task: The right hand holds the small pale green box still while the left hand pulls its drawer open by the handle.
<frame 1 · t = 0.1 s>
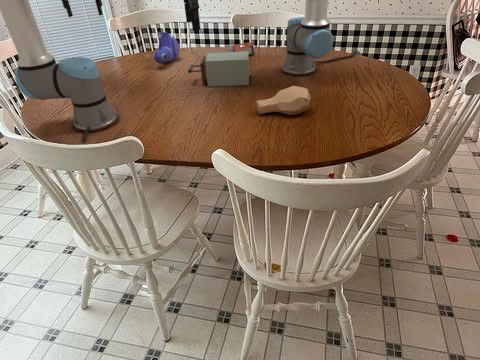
left hand: (86, 15, 157), 28 cm above the table, tool pointing down, fingers open, 13 cm apart
right hand: (193, 25, 131), 28 cm above the table, tool pointing down, fingers open, 13 cm apart
drawer: (214, 69, 158), point 6 cm above the table, slide at 1.2 cm
toy: (167, 63, 186), on the table
squash: (283, 112, 132), on the table
pale green box: (229, 81, 161), on the table
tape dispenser: (241, 57, 187), on the table
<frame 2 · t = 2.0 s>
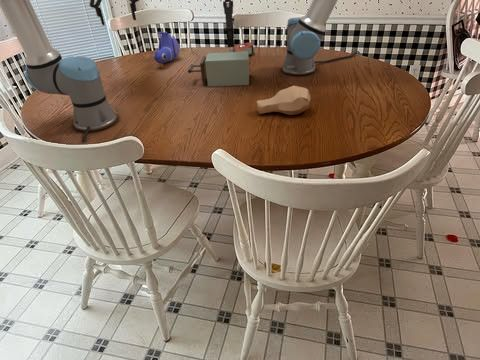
left hand: (119, 22, 155), 25 cm above the table, tool pointing down, fingers open, 13 cm apart
right hand: (231, 42, 148), 18 cm above the table, tool pointing down, fingers open, 13 cm apart
nothing on the table moved.
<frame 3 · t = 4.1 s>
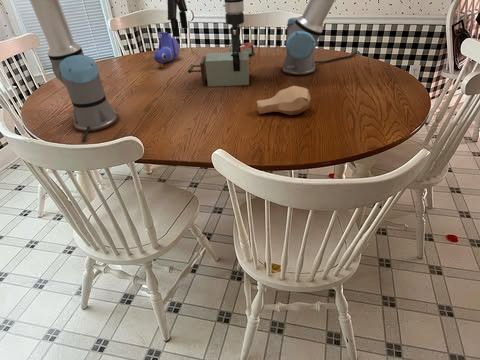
left hand: (180, 32, 150), 22 cm above the table, tool pointing down, fingers open, 13 cm apart
right hand: (237, 66, 157), 7 cm above the table, tool pointing down, fingers closed on pale green box, 11 cm apart
pale green box: (229, 81, 161), on the table, touching right hand
everything else where it was.
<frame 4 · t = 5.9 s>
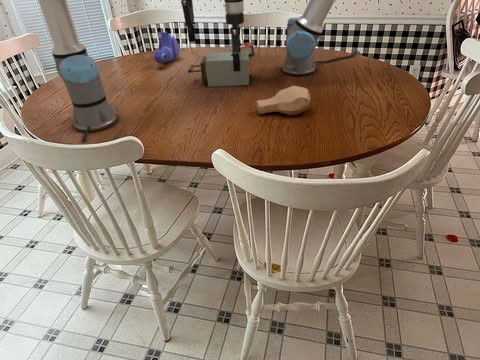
left hand: (192, 41, 151), 18 cm above the table, tool pointing down, fingers closed
right hand: (237, 66, 157), 7 cm above the table, tool pointing down, fingers closed on pale green box, 11 cm apart
pale green box: (229, 81, 161), on the table, touching right hand
everything else where it was.
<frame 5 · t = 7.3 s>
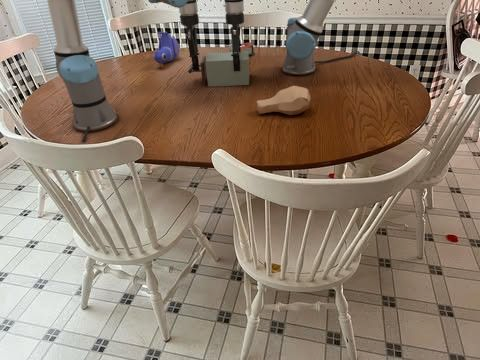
left hand: (196, 70, 159), 5 cm above the table, tool pointing down, fingers closed
right hand: (237, 66, 157), 7 cm above the table, tool pointing down, fingers closed on pale green box, 11 cm apart
drawer: (215, 69, 158), point 6 cm above the table, slide at 1.2 cm, touching left hand
pale green box: (229, 81, 161), on the table, touching right hand
everything else where it was.
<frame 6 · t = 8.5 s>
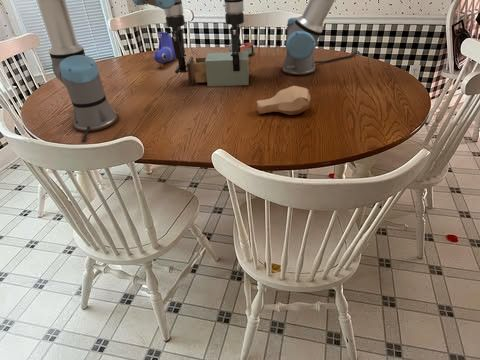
left hand: (183, 71, 159), 5 cm above the table, tool pointing down, fingers closed
right hand: (237, 66, 157), 7 cm above the table, tool pointing down, fingers closed on pale green box, 11 cm apart
drawer: (201, 69, 158), point 6 cm above the table, slide at 6.9 cm, touching left hand
pale green box: (228, 81, 161), on the table, touching right hand
everything else where it was.
when the right hand's fingers open (7 cm above the table, at t = 10.3 s): pale green box stays where it is, on the table.
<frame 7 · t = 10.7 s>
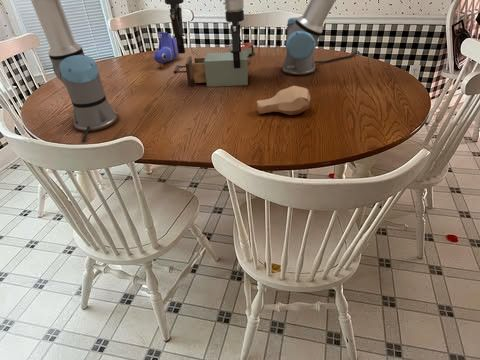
left hand: (181, 52, 154), 13 cm above the table, tool pointing down, fingers closed
right hand: (237, 62, 156), 8 cm above the table, tool pointing down, fingers open, 13 cm apart
drawer: (200, 70, 158), point 6 cm above the table, slide at 7.0 cm
pale green box: (227, 81, 161), on the table
everything else where it was.
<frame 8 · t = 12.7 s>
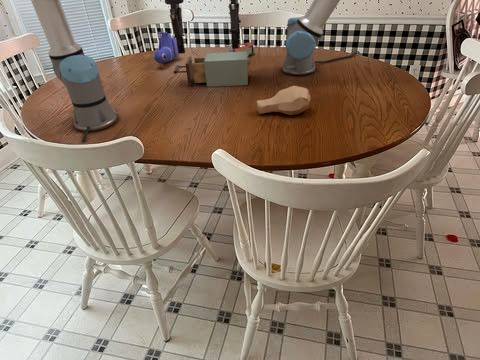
left hand: (181, 52, 154), 13 cm above the table, tool pointing down, fingers closed
right hand: (236, 43, 151), 16 cm above the table, tool pointing down, fingers open, 13 cm apart
nothing on the table moved.
at the end: drawer slide at 7.0 cm; pale green box tilted 0°; pale green box never tilted more than 3° during the clip; pale green box moved 0.5 cm from its start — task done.
